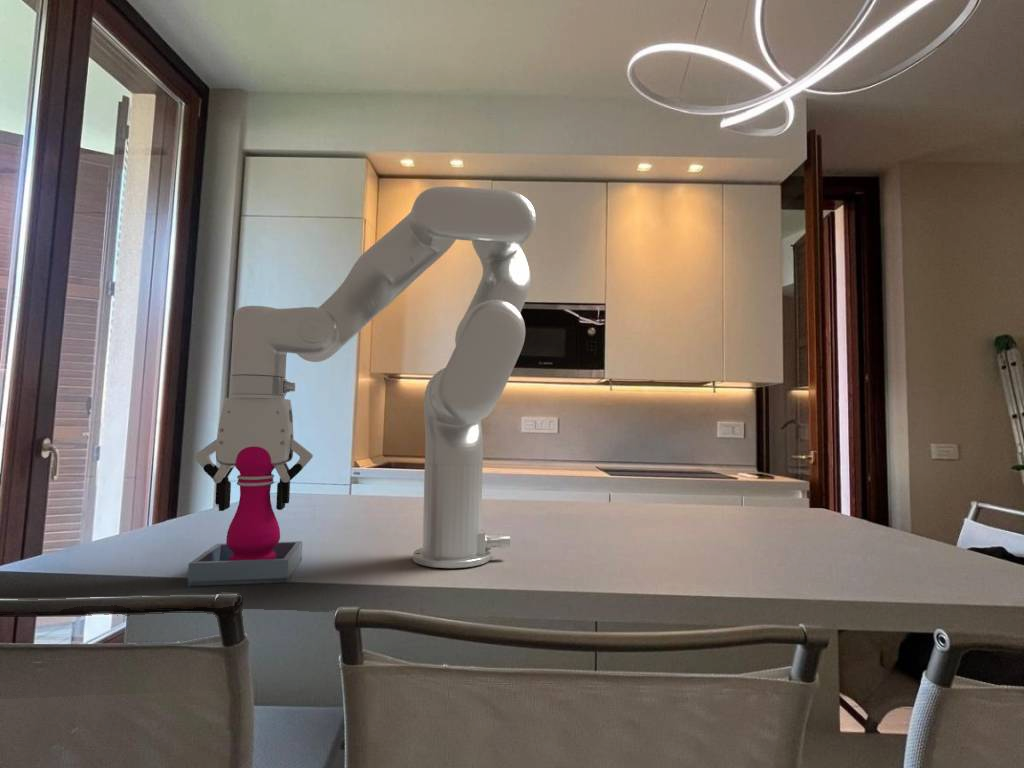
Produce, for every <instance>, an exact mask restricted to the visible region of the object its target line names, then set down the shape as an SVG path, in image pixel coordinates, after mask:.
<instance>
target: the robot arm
mask: <svg viewBox="0 0 1024 768" xmlns="http://www.w3.org/2000/svg"><path fill="white" fill-rule="evenodd" d="M534 208H535V207H534V206H533V204H532V203H531V202H530V200H529V199H528V198H527V197H525V196H524V195H522V194H520V193H518V192H516V191H512V190H509V189H508V190H507V189H497V188H481V187H470V186H469V187H465V186H448V185H447V186H444V185H443V186H435V187H431V188H427V189H425V190H423V191H422V192H421V193H420V194H419V195H418V196H417V197H416V198H415V201H414V202H413V205H412V208H411V211H410V212H409V213H408V214H407V215H406V216H405V217H404V218H402V220H400V221H399V222H398V223H397V224H396V225H395V226H393V227H392V228H390V230H389V231H388V232H386V233H385V234H384V235H383V236H382V237H380V239H378V240H377V241H376V242H375V243H373V244H372V246H370V247H369V248H368V249H367V250H365V251H364V252H363V253H362V254H361V255H360V256H359V257H358V259H357V260H356V261H355V263H354V264H353V266H352V267H351V269H350V271H349V273H348V275H347V276H346V277H345V279H344V281H343V282H341V284H340V286H339V287H338V288H337V289H336V290H335V291H334V292H333V293H332V294H331V295H330V296H329V297H328V298H327V299H326V300H325V301H323V303H321V305H319V306H318V307H314V306H305V307H304V306H303V307H291V308H290V307H287V308H276V307H271V306H264V305H263V306H262V305H245V306H241V307H239V308H237V310H235V312H234V315H233V325H232V347H231V348H232V349H231V363H230V364H231V369H230V386H229V388H230V389H229V397H225V398H224V401H223V403H222V408H221V413H220V417H219V423H218V429H217V435H216V436H217V437H216V439H215V440H213V441H212V442H210V443H209V444H208V445H206V446H205V447H204V448H202V449H201V450H199V451H198V452H196V453H195V454H194V456H193V457H194V459H195V460H196V462H197V463H198V464H199V465H200V467H201V468H202V469H203V471H204V472H205V473H206V474H207V475H208V476H209V477H210V478H211V479H212V481H213V482H214V483H215V505H218V512H223V511H225V510H228V509H229V508H230V507H231V491H232V482H231V481H230V480H229V476H230V475H231V474H232V472H233V469H235V468H236V467H235V464H236V458H237V455H238V453H239V452H240V451H241V450H243V449H244V448H247V447H253V446H255V447H261V448H263V449H265V450H266V451H267V452H268V453H269V455H270V457H271V464H272V465H274V467H275V468H274V470H276V472H277V474H278V476H279V482H278V483H277V485H276V486H277V487H276V508H275V509H276V510H278V511H281V510H283V509H284V508H285V507H286V504H289V503H290V498H291V497H290V496H291V495H290V491H291V481H292V480H293V479H294V478H295V477H296V476H297V475H298V474H299V473H300V472H301V471H302V470H303V469H304V468H305V467H306V466H307V464H308V463H309V462H311V460H312V459H313V458H314V457H313V455H314V454H313V453H311V452H310V451H309V450H307V449H306V448H305V447H304V446H303V445H302V444H300V443H299V442H298V441H296V440H295V439H294V417H293V408H292V403H291V401H292V400H291V399H287V398H285V396H286V395H287V394H288V393H291V392H296V383H295V382H290V381H288V380H287V378H286V375H287V374H286V373H287V353H289V354H295V355H297V356H298V357H300V358H301V359H302V360H305V361H307V362H311V363H319V362H323V361H326V360H328V359H330V358H331V357H333V356H334V355H335V354H336V353H337V352H338V351H340V350H341V349H342V348H343V347H344V346H345V345H346V344H348V342H349V341H350V340H351V339H353V338H354V336H355V337H356V336H357V334H358V333H359V332H360V331H361V330H362V329H363V328H365V327H366V326H367V325H368V324H369V323H370V321H372V319H375V317H376V316H377V315H379V313H381V312H382V311H383V310H384V309H386V308H387V307H388V306H389V305H391V304H392V303H393V302H394V301H395V299H397V298H398V297H399V296H400V295H401V294H402V293H403V292H404V291H405V290H406V289H407V288H408V287H409V286H410V285H411V284H413V282H415V281H416V280H417V279H418V278H419V277H420V276H422V274H424V272H425V271H427V270H428V269H429V268H430V267H431V266H432V265H434V264H435V263H436V262H437V261H438V260H439V259H441V258H442V256H443V255H445V253H446V252H448V251H449V250H450V248H452V246H453V244H454V243H455V242H456V240H457V241H458V240H459V241H471V243H472V247H473V249H474V251H475V253H476V255H477V256H478V258H479V260H480V263H481V267H482V276H481V279H480V282H479V283H478V286H477V289H476V290H475V294H474V296H473V298H472V300H471V301H470V304H469V306H468V307H467V310H466V312H465V314H464V315H463V317H462V319H461V321H459V324H457V325H458V326H457V328H456V331H455V337H454V341H455V347H454V350H453V351H452V353H451V356H450V358H449V360H448V362H447V364H446V366H445V367H444V368H442V369H440V370H438V371H436V372H435V374H434V375H432V377H430V379H429V381H428V382H427V385H426V387H425V391H424V398H423V414H424V433H425V435H424V436H425V437H424V438H425V439H424V443H425V444H424V446H425V447H424V448H425V449H424V476H423V477H424V480H423V481H424V482H423V483H424V484H423V521H422V547H420V548H417V549H416V550H414V551H413V553H412V561H413V562H414V563H415V564H418V565H421V566H424V567H430V568H437V569H462V568H464V569H465V568H473V567H476V566H477V567H478V566H481V565H484V564H487V563H488V562H489V561H490V560H491V554H492V552H491V549H492V548H498V549H501V548H502V549H503V548H504V549H505V548H508V549H509V548H510V547H511V537H510V535H501V534H486V532H485V531H484V529H483V528H482V524H483V523H482V522H483V521H482V516H483V515H482V514H483V511H482V510H483V509H482V507H483V463H484V445H483V444H484V441H483V440H484V439H483V437H484V436H483V430H482V429H483V428H482V420H483V419H485V418H486V417H488V416H489V415H490V414H491V413H492V412H493V410H494V409H495V407H496V406H497V404H498V402H499V400H500V398H501V397H502V394H503V392H504V391H505V388H506V386H507V383H508V381H509V379H510V376H511V374H512V373H513V370H514V368H515V366H516V364H517V361H518V359H519V357H520V354H521V352H522V349H523V346H524V343H525V340H526V339H525V338H526V325H525V320H524V318H523V316H522V314H521V313H522V310H523V307H524V305H525V303H526V300H527V297H528V294H529V292H530V289H531V288H530V287H531V280H532V275H531V270H530V267H529V263H528V260H527V257H526V254H525V253H524V251H523V249H522V248H521V246H522V245H523V244H524V243H525V242H527V240H528V239H529V238H530V237H531V235H532V234H533V232H534V230H535V227H536V222H537V218H536V217H537V216H536V212H535V209H534ZM214 453H215V459H216V461H217V463H219V464H221V465H220V467H218V466H217V465H216V464H215V463H213V461H212V459H210V456H211V455H213V454H214ZM294 454H296V455H298V456H299V459H298V461H297V462H296V463H295V464H293V466H292V467H290V468H289V465H288V463H289V462H290V461H292V460H293V457H294Z"/></svg>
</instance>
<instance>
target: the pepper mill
mask: <svg viewBox="0 0 1024 768" xmlns="http://www.w3.org/2000/svg"><path fill="white" fill-rule="evenodd" d="M234 468H236V469H237V472H239V474H238V475H237V476H236V478H237V482H236V484H237V486H239V500H238V501H239V502H238V506H237V509H236V511H235V514H234V516H233V518H232V520H231V522H230V524H229V526H228V529H227V534H226V542H225V543H226V544H227V546H228V547H229V548H230V549H231V550H232V551H233V553H234V555H232V556H231V557H230V558H229V561H235V560H264V559H276V553H275V552H272V550H273V548H274V547H275V546H276V545H277V543H278V542H280V541H281V530H280V526H279V522H278V519H277V517H276V515H275V512H274V510H273V506H272V501H271V487H272V485H273V484H275V481H274V478H275V475H274V474H272V473H273V471H274V470H275V467H274V465H272V464H271V457H270V455H269V453H268V452H267V451H266V450H265V449H263V448H261V447H255V446H253V447H247V448H244V449H243V450H241V451H240V452H239V453H238V455H237V458H236V464H235V467H234Z"/></svg>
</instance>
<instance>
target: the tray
mask: <svg viewBox="0 0 1024 768" xmlns="http://www.w3.org/2000/svg"><path fill="white" fill-rule="evenodd" d="M272 552H275V553H276V559H264V560H235V561H229V558H230V557H231V556H232V555H234V553H233V551H232V550H231V549H230V548H229V547H228V546H227V544H226V542H225V543H216V544H215V545H213V546H212V547H210V548H209V549H208V550H205V552H203V553H202V554H200V555H199V556H197V557H196V558H194V559H192V560H191V561H190V562H188V568H187V569H188V570H187V587H200V586H201V587H202V586H205V587H206V586H207V587H208V586H223V585H225V586H228V585H229V586H230V585H251V584H272V583H275V584H276V583H288V582H289V580H290V579H291V577H292V576H293V575H294V573H295V571H296V570H297V569H298V566H299V565H300V564H301V562H302V557H303V541H302V540H301V541H296V540H295V541H279V542H278V543H277V545H276V546H275V547H274V548H273V550H272Z"/></svg>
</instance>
